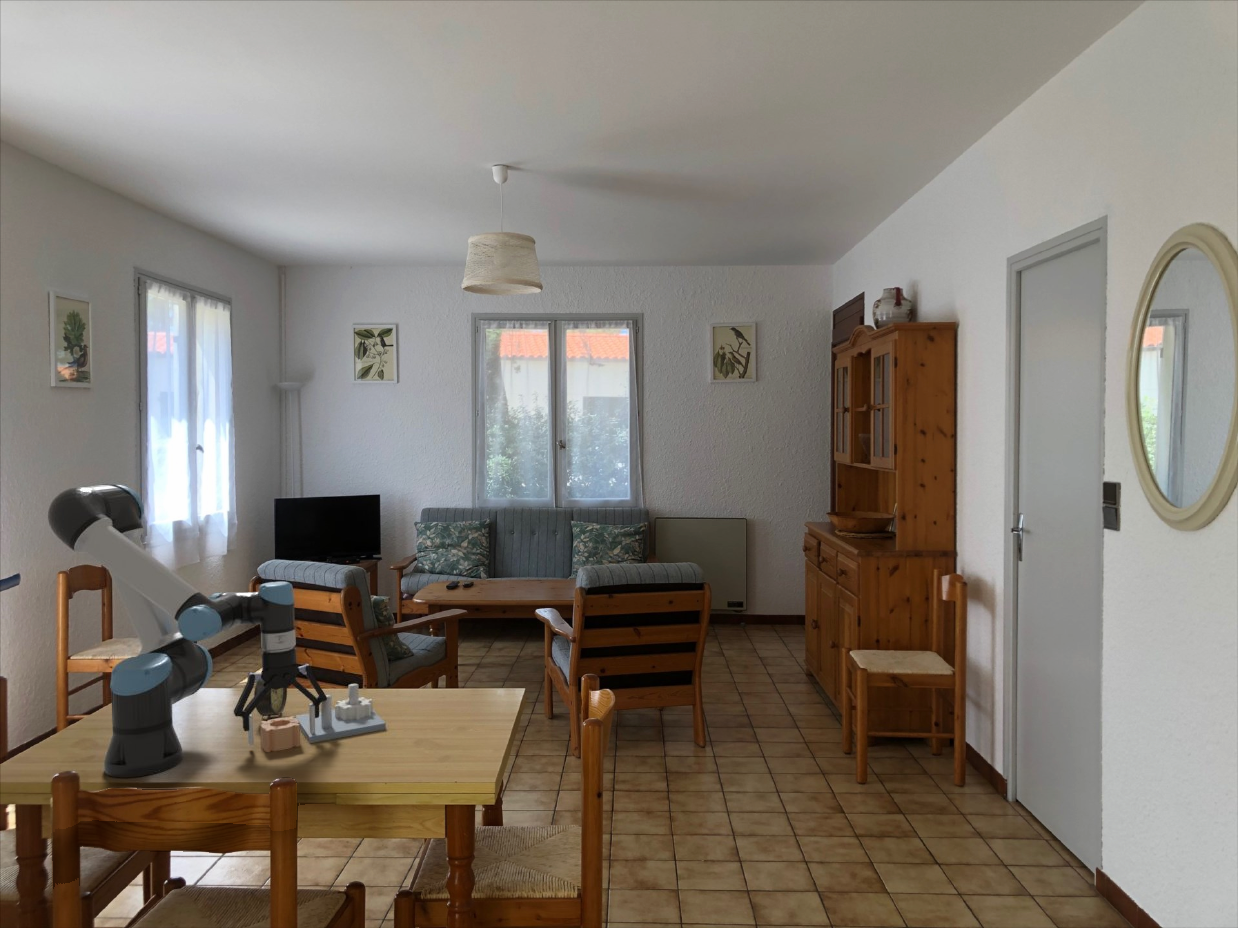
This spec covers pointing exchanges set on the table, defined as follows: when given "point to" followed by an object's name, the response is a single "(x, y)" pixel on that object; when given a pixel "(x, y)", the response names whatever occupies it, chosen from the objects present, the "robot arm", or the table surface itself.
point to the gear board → (342, 718)
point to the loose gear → (280, 734)
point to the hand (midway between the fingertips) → (282, 738)
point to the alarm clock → (271, 701)
